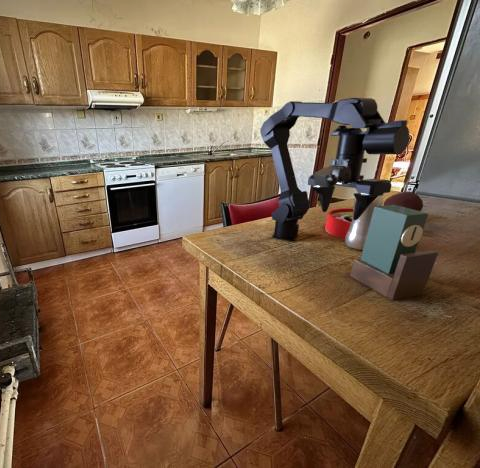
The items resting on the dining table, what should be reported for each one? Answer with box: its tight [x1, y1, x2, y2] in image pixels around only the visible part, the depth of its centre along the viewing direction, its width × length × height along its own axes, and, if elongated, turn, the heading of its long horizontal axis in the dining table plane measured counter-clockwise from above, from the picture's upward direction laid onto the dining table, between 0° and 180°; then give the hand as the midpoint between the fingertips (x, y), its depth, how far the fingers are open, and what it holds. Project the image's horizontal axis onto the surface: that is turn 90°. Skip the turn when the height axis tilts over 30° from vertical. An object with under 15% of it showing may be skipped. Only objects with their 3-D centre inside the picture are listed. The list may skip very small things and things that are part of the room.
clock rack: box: [349, 249, 439, 301], centre depth 57 cm, size 10×8×10 cm
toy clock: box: [324, 207, 354, 240], centre depth 87 cm, size 20×6×20 cm
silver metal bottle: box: [344, 195, 384, 251], centre depth 73 cm, size 6×7×20 cm
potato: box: [382, 191, 424, 212], centre depth 98 cm, size 11×13×10 cm
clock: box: [360, 205, 429, 274], centre depth 55 cm, size 8×5×13 cm, turn 10°
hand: (339, 215), depth 68 cm, fingers open, 9 cm apart
